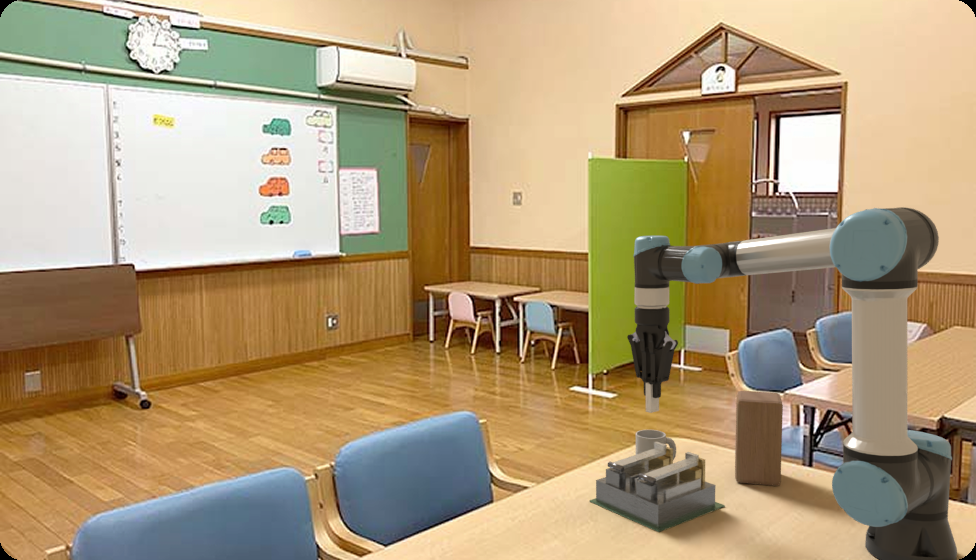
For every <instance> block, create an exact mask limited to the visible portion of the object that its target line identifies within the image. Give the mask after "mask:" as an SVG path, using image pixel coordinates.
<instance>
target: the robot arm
mask: <svg viewBox="0 0 976 560" xmlns="http://www.w3.org/2000/svg"><path fill="white" fill-rule="evenodd" d="M939 240H940V237H939V231H938V229H937V226H936V224H935V223H934V222H933V220H932V219H931V218H930V217H929V215H926V214H925V213H924V212H922V211H920V210H917V209H916V208H915V209H914V208H911V207H904V206H903V207H889V208H879V207H878V208H877V207H874V208H869V209H868V208H867V209H864V210H860V211H857V212H854V213H852V214H850V215H848V216H846V217H845V218H844V219H843V220H841V222H840V223H839V224H838V225H837V226H836V227H833V228H826V229H819V230H812V231H805V232H797V233H789V234H783V235H775V236H769V237H767V236H766V237H760V238H754V239H753V238H752V239H746V240H736V241H729V242H721V243H712V244H700V245H671V243H670V238H669V237H668V236H666V235H642V236H641V235H640V236H638V237H636V238H635V240H634V251H633V252H634V253H633V264H634V265H633V267H634V305H635V308H634V323H635V324H636V328H635V332H633V333H631V334H628V335H627V337H626V338H627V340H628V342H629V345H630V349H631V354H632V360H633V365H634V371H635V376H636V379H637V378H638V379H639V378H640V379H641V380H642V382H643V395H644V396H645V412H647V413H650V414H652V413H656V412H659V411H660V398H661V396H662V383H664V382H667V381H669V379H670V374H671V370H672V364H673V359H674V354H675V350H676V348H677V347H678V345H679V341H678V340H677V339H672V337H671V336H670V332H669V329H668V325H669V323H670V308H669V306H668V305H669V304H670V282H672V281H673V282H682V283H683V282H684V283H691V284H692V283H693V284H697V285H699V284H711V283H714V282H715V281H716V279H724V278H725V279H726V278H735V277H743V276H744V277H745V276H752V275H763V274H774V273H776V274H777V273H787V272H795V271H796V272H797V271H807V270H820V269H830V268H831V269H832V268H836V269H837V270H838V272H839V273H840V274H841V289H842V290H843V291H844V292H845V293H847V294H848V296H850V299H851V382H852V383H851V386H852V388H851V394H852V395H851V397H852V401H851V404H852V411H851V412H852V413H851V414H852V416H851V417H852V426H851V427H852V432H851V433H850V434H849V435H848V436H847V437H845V438H844V439H843V442H842V443H843V444H842V449H843V450H842V452H843V453H842V456H843V457H842V464H841V465H839V467H838V468H837V469H836V470H835V472H834V474H833V476H832V479H831V480H832V481H831V485H832V486H831V488H832V492H833V496H834V499H835V501H836V503H837V504H838V506H839V507H840V508H841V509H843V511H844V512H845V513H846V515H847V516H848V517H849V518H851V519H853V520H854V521H856V522H858V523H860V524H862V525H865V526H868V528H867V530H866V533H865V540H864V541H865V544H864V545H865V549H866V550H867V551H868V553H869V554H871V556H873V557H874V558H876V559H877V560H958V558H957V557H958V548H957V544H956V541H955V538H954V535H953V532H952V528H951V525H950V522H949V500H950V485H951V483H950V482H951V468H952V466H951V465H952V460H953V456H952V446H951V444H950V442H949V441H948V440H947V439H945V438H943V437H942V436H938V435H936V434H932V433H928V432H923V431H917V430H912V429H911V430H910V429H908V298H909V297H910V296H911V295H912V294H913V293H914V292H915V291H916V290H917V289H918V284H919V283H918V277H919V276H918V273H919V272H918V271H919V269H920V270H921V269H922V268H923V267H924V266H925V265H928V264H929V262H931V260H932V259H933V258H934V256H935V255H936V252H937V250H938V247H939Z"/></svg>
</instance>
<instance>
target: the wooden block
mask: <svg viewBox="0 0 976 560" xmlns="http://www.w3.org/2000/svg"><path fill="white" fill-rule="evenodd" d="M735 398H736V399H735V400H736V403H735V404H736V406H735V407H736V408H735V411H736V412H735V443H734V444H735V445H734V447H735V450H734V453H735V455H734V457H735V458H734V474H735V475H734V476H735V477H734V479H735V481H736V482H737V483H742V484H751V485H752V484H753V485H763V486H774V487H777V486H780V485H781V482H782V481H781V480H782V478H781V476H782V451H783V449H782V448H783V447H782V446H783V444H782V443H783V411H784V409H783V408H784V406H783V405H784V404H783V401H782V397H781V395H780V393H778V392H771V391H770V392H769V391H754V390H753V391H751V390H739V391H737V393H736V397H735Z"/></svg>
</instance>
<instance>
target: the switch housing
mask: <svg viewBox="0 0 976 560" xmlns="http://www.w3.org/2000/svg"><path fill="white" fill-rule="evenodd" d="M673 463H674V460H673V449H672V448H670V447H669V446H667V451H666V454H665V455H663V456H660V457H657V458H654V459H651V460H649V463H648V464H646V465H645V462H642V463H640V464H637V465H634V466H631V467H628V468H625V469H624V471H623V472H621V471H618V470H615V469H613V468H610V467H608V468H606V469H605V477H602V478H598V479H596V480H595V481H596V482H595V495H596V496H595V498H592V499H590V500H589V502H590V503H592V504H594V505H597V506H598V507H601V508H603V509H606V510H608V511H610V512H613V513H614V514H617V515H619V516H621V517H624V518H625V519H628V520H630V521H633V522H635V523H637V524H639V525H641V526H643V527H647V528H648V529H651V530H653V531H655V532H658V533H660V532H663V531H665V530H667V529H671V528H672V527H675V526H679V525H681V524H683V523H686V522H688V521H691V520H694V519H696V518H699V517H701V516H703V515H707V514H709V513H711V512H714V511H717V510H719V509H720V510H721V509H722V508H724V507H725V506H726V505H725V504H722V503H720V502H717V501H716V484H713V483H711V482H708V481H706V459H705V458H702V457H699V461H698V465H697V466H694V467H692V468H689V469H686V470H684V471H681V472H678V473H676V474H673V475H670V476H667V477H665V478H662V479H659V480H657V481H656V482H655V484H652V483H649V482H647V481H644V480H642V479H639V478H638V475H639V473H642V474H645V473H648V472H651V471H654V470H656V469H659V468H662V467H665V466H667V465H670V464H673Z"/></svg>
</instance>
